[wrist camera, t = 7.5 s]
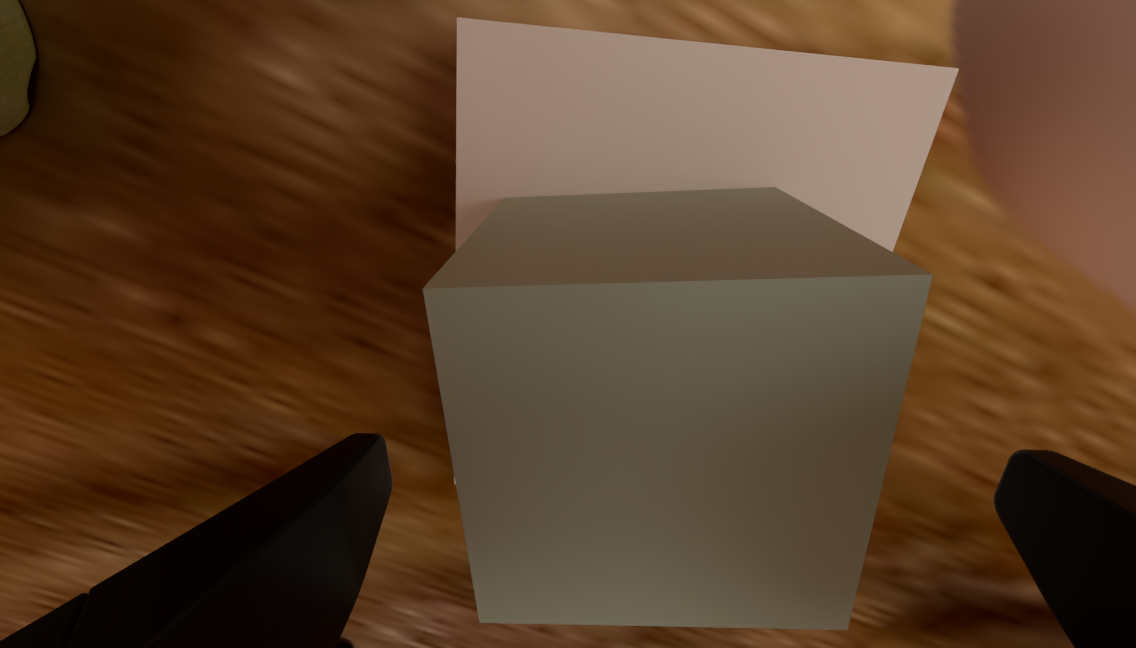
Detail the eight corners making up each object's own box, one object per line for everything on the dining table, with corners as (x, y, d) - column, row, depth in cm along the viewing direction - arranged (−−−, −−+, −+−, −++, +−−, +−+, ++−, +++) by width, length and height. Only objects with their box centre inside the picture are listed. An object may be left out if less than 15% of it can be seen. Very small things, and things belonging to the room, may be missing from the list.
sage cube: (750, 417, 14) (847, 630, 8) (526, 419, 14) (479, 622, 9) (775, 186, 12) (932, 274, 6) (504, 197, 12) (422, 288, 6)
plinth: (757, 439, 19) (793, 523, 15) (482, 408, 19) (454, 484, 16) (866, 73, 14) (958, 68, 10) (494, 35, 14) (456, 17, 11)
